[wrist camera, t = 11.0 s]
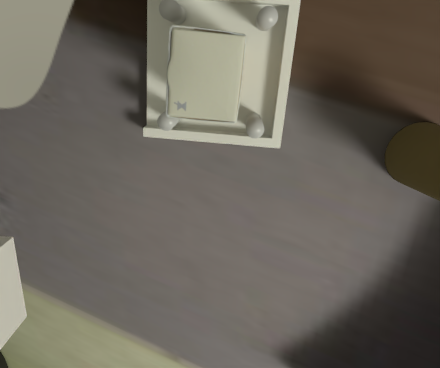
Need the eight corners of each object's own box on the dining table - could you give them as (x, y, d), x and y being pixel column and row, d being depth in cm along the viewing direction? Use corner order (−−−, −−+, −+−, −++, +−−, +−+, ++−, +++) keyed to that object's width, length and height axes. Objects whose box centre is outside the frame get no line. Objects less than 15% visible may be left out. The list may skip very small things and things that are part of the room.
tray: (149, 131, 33) (134, 144, 29) (150, -14, 29) (133, -27, 24) (277, 142, 33) (283, 157, 28) (297, -2, 29) (308, -13, 24)
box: (237, 104, 31) (236, 130, 21) (188, 99, 31) (163, 121, 21) (245, 40, 29) (248, 32, 19) (193, 34, 29) (167, 23, 19)
